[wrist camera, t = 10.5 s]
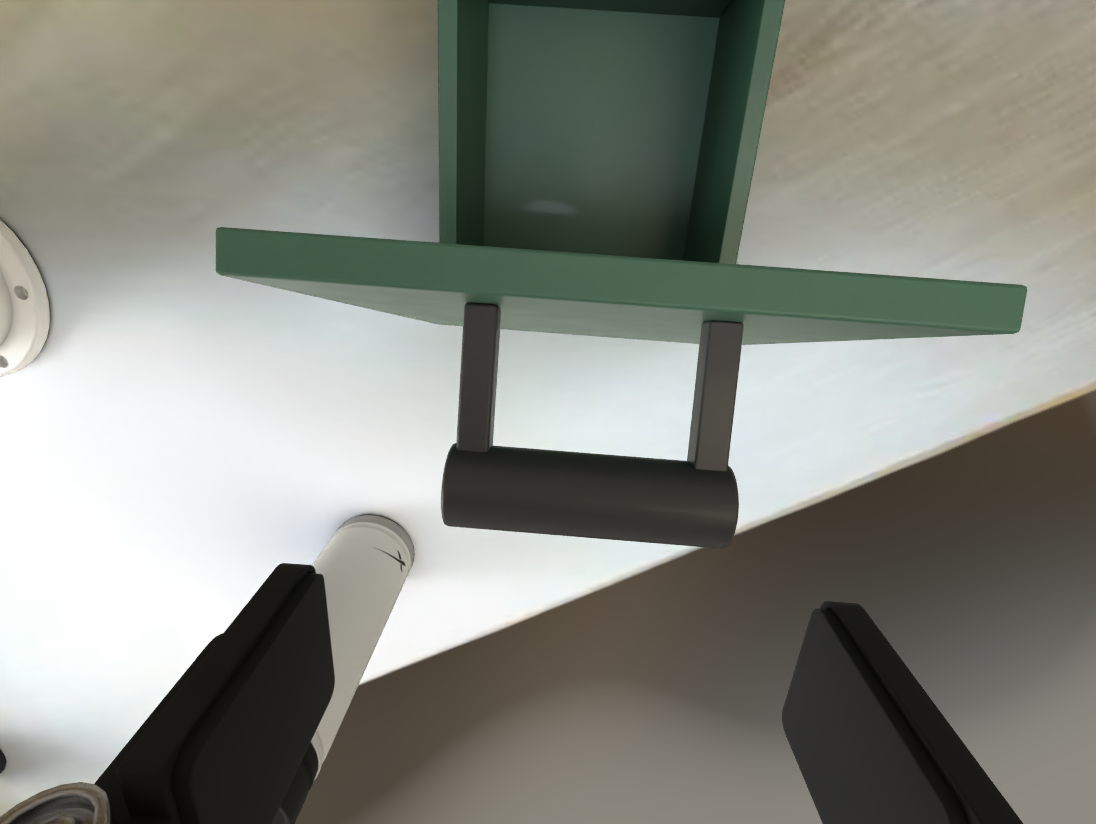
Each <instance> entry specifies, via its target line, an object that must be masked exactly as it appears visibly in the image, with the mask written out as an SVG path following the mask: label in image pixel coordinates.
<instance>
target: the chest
mask: <svg viewBox="0 0 1096 824" xmlns="http://www.w3.org/2000/svg"><path fill="white" fill-rule="evenodd" d="M784 3H785V0H438V87H439V235H440V243H447V244H460V245H474V246H488V247H502V248H516V249H530V250H544V251H557V252H571V253H585V254H599V255H613V256H627V257H641V258H655V259H668V260H682V261H696V262H710V263H724V264H736V261H737V255H738V250H739V245H740V239H741V234H742V229H743V223H744V218H745V213H746V207H747V202H748V196H749V191H750V186H751V180H752V175H753V170H754V164H755V159H756V153H757V148H758V143H759V137H760V132H761V127H762V121H763V116H764V110H765V105H766V100H767V94H768V89H769V84H770V78H771V73H772V67H773V62H774V57H775V51H776V46H777V41H778V35H779V30H780V25H781V19H782V14H783V8H784Z"/></svg>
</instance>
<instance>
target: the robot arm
mask: <svg viewBox="0 0 1096 824" xmlns="http://www.w3.org/2000/svg"><path fill="white" fill-rule="evenodd" d="M49 324H50V313H49V302H48V297H47V293H46V288H45V285H44V283H43V280H42V278H41V275H40V273H39V270H38V268H37V266H36V265H35V263H34V261H33V259H32V258H31V256H30V254H29V253H28V251H27V249H26V248H25V247H24V245H23V244H22V243H21V242H20V240H19V239H18V238H17V237H16V235H15V234H14V233H13V231H12V230H10V229H9V228H8V227H7V226H6V225H5V224H4V223H3V222H2V221H1V220H0V376H4V375H7V374H10V373H13V372H16V371H18V370H21V369H22V368H24V367H25V366H27V365H28V364H29V363H31V362H32V361H33V360H34V359H35V357H36V356H37V355H38V354H39V353H40V352H41V350H42V348H43V345H44V343H45V341H46V339H47V335H48V329H49ZM334 686H335V674H334V665H333V655H332V646H331V637H330V628H329V619H328V609H327V600H326V591H325V582H324V577H323V575H322V574H316V571H315V568H314V567H313V566H311V565H301V564H287V563H282V564H279V565H278V566H277V567H276V568H275V570H274V571H273V572H272V573H271V575H270V576H269V577H268V578H267V580H266V581H265V582H264V583H263V585H262V586H261V587H260V588H259V590H258V591H257V592H256V593H255V595H254V596H253V597H252V598H251V600H250V601H249V602H248V603H247V605H246V606H245V607H244V608H243V610H242V611H241V612H240V613H239V615H238V616H237V617H236V618H235V620H234V621H233V622H232V623H231V625H230V626H229V627H228V628H227V630H226V631H225V632H224V633H223V634H220V635H218V636H216V637H215V638H214V639H213V640H212V641H211V642H210V643H209V644H208V645H207V646H206V647H205V649H204V650H203V651H202V652H201V654H200V655H199V656H198V657H197V658H196V660H195V661H194V662H193V663H192V665H191V666H190V667H189V668H188V670H187V671H186V672H185V673H184V674H183V676H182V677H181V678H180V679H179V681H178V682H177V683H176V684H175V685H174V687H173V688H172V689H171V690H170V692H169V693H168V694H167V695H166V697H165V698H164V699H163V700H162V701H161V703H160V704H159V705H158V706H157V708H156V709H155V710H154V711H153V712H152V714H151V715H150V716H149V717H148V719H147V720H146V721H145V722H144V723H143V725H142V726H141V727H140V728H139V730H138V731H137V732H136V733H135V735H134V736H133V737H132V738H131V739H130V741H129V742H128V743H127V744H126V746H125V747H124V748H123V749H122V750H121V752H120V753H119V754H118V755H117V757H116V758H115V759H114V760H113V762H112V763H111V764H110V765H109V766H108V768H107V769H106V770H105V771H104V773H103V774H102V775H101V776H100V777H99V779H98V780H97V781H96V782H95V784H89V783H83V782H78V783H71V784H63V785H59V786H57V787H54V788H51V789H48V790H45V791H42V792H40V793H38V794H36V795H34V796H32V797H30V798H29V799H27V800H25V801H23V802H21V803H19V804H17V805H16V806H15V807H13V808H12V809H10V810H9V811H8V812H6V813H5V814H4V815H2V816H1V817H0V824H272V822H273V820H274V818H275V816H276V814H277V812H278V810H279V808H280V805H281V803H282V801H283V799H284V797H285V795H286V793H287V791H288V789H289V787H290V784H291V782H292V780H293V778H294V776H295V774H296V772H297V770H298V768H299V765H300V763H301V761H302V759H303V757H304V755H305V753H306V751H307V749H308V747H309V744H310V742H311V740H312V738H313V736H314V734H315V732H316V730H317V728H318V726H319V723H320V721H321V719H322V717H323V715H324V713H325V711H326V709H327V707H328V704H329V702H330V700H331V698H332V695H333V691H334ZM782 722H783V728H784V731H785V734H786V737H787V739H788V741H789V744H790V746H791V749H792V751H793V753H794V756H795V758H796V761H797V763H798V765H799V768H800V770H801V772H802V775H803V777H804V780H805V782H806V784H807V787H808V789H809V792H810V794H811V796H812V799H813V801H814V803H815V806H816V808H817V811H818V813H819V816H820V818H821V820H822V823H823V824H1023V823H1022V821H1021V820H1020V819H1019V817H1018V816H1017V815H1016V813H1015V812H1014V811H1013V809H1012V808H1011V807H1010V805H1009V804H1008V803H1007V801H1006V800H1005V798H1004V797H1003V796H1002V794H1001V793H1000V792H999V791H998V789H997V788H996V786H995V785H994V784H993V782H992V781H991V780H990V778H989V777H988V776H987V774H986V773H985V772H984V770H983V769H982V768H981V766H980V765H979V764H978V762H977V761H976V759H975V758H974V757H973V755H972V754H971V753H970V751H969V750H968V749H967V747H966V746H965V745H964V743H963V742H962V741H961V739H960V738H959V737H958V735H957V734H956V733H955V731H954V730H953V728H952V727H951V726H950V724H949V723H948V722H947V720H946V719H945V718H944V716H943V715H942V714H941V712H940V711H939V710H938V708H937V707H936V706H935V704H934V703H933V701H932V700H931V699H930V697H929V696H928V695H927V693H926V692H925V691H924V689H923V688H922V687H921V685H920V684H919V683H918V681H917V680H916V679H915V677H914V676H913V674H912V673H911V672H910V670H909V669H908V668H907V666H906V665H905V664H904V662H903V661H902V660H901V658H900V657H899V656H898V654H897V653H896V652H895V650H894V649H893V648H892V646H891V645H890V644H889V642H888V641H887V639H886V638H885V637H884V635H883V634H882V633H881V631H880V630H879V629H878V627H877V626H876V625H875V624H874V622H873V621H872V619H871V618H870V617H869V615H868V614H867V612H866V611H865V610H864V609H863V608H862V607H861V606H860V605H858V604H856V603H843V602H824V603H823V604H822V605H821V608H820V609H815V610H813V612H812V614H811V618H810V621H809V624H808V627H807V631H806V634H805V637H804V641H803V644H802V647H801V651H800V654H799V658H798V661H797V664H796V667H795V671H794V674H793V677H792V681H791V684H790V687H789V691H788V694H787V698H786V701H785V704H784V707H783V712H782Z"/></svg>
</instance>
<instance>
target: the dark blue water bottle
mask: <svg viewBox="0 0 1096 824" xmlns="http://www.w3.org/2000/svg"><path fill="white" fill-rule="evenodd" d="M5 764H6V762H5V758H4V755H3V754H2V752H1V751H0V773H1V772H2V771H3V770H4V769H5Z"/></svg>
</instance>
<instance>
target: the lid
mask: <svg viewBox="0 0 1096 824" xmlns="http://www.w3.org/2000/svg"><path fill="white" fill-rule="evenodd" d="M216 272H217V273H218V274H220V275H222V276H227V277H231V278H236V279H240V280H244V281H249V282H253V283H258V284H262V285H267V286H271V287H275V288H280V289H284V290H289V291H293V292H298V293H302V294H306V295H311V296H315V297H320V298H324V299H329V300H333V301H337V302H342V303H346V304H351V305H355V306H360V307H364V308H368V309H373V310H377V311H382V312H386V313H391V314H395V315H399V316H404V317H408V318H413V319H417V320H422V321H426V322H430V323H435V324H441V325H455V326H463V339H462V356H461V374H460V392H459V410H458V427H457V443H455V444H453V445H452V447H451V448H450V451H449V453H448V456H447V459H446V463H445V468H444V473H443V480H442V491H441V512H442V518H443V521H444V524H445V525H447V526H453V527H465V528H477V529H490V530H502V531H514V532H526V533H539V534H551V535H563V536H575V537H587V538H600V539H612V540H624V541H636V542H649V543H661V544H673V545H685V546H697V547H710V548H725V547H727V546H728V545H729V544H730V543H731V541H732V539H733V536H734V534H735V530H736V525H737V520H738V508H739V500H738V489H737V483H736V479H735V475H734V473H733V471H732V469H731V468H730V467H729V466H728V458H729V450H730V441H731V432H732V424H733V415H734V406H735V398H736V389H737V380H738V371H739V363H740V354H741V345H751V344H775V343H799V342H823V341H848V340H872V339H896V338H920V337H945V336H969V335H993V334H1014V333H1017V332H1019V330H1020V328H1021V322H1022V316H1023V310H1024V305H1025V299H1026V293H1027V287H1026V286H1023V285H1015V284H1001V283H987V282H973V281H960V280H946V279H932V278H918V277H904V276H890V275H876V274H862V273H849V272H835V271H821V270H807V269H793V268H779V267H765V266H752V265H738V264H724V263H710V262H696V261H682V260H668V259H655V258H641V257H627V256H613V255H599V254H585V253H571V252H557V251H544V250H530V249H516V248H502V247H488V246H474V245H460V244H447V243H433V242H419V241H405V240H391V239H377V238H363V237H350V236H336V235H322V234H308V233H294V232H280V231H266V230H252V229H239V228H225V227H220V228H217V229H216ZM500 329H508V330H521V331H535V332H548V333H561V334H575V335H588V336H601V337H615V338H628V339H642V340H655V341H668V342H682V343H695V344H700V345H699V355H698V364H697V373H696V383H695V392H694V402H693V411H692V421H691V430H690V439H689V449H688V458H687V461H679V460H666V459H654V458H641V457H628V456H616V455H603V454H590V453H578V452H565V451H552V450H540V449H527V448H514V447H502V446H493V431H494V415H495V399H496V384H497V368H498V353H499V337H500Z"/></svg>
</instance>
